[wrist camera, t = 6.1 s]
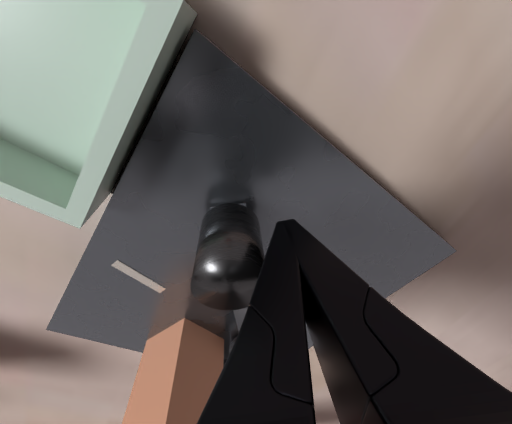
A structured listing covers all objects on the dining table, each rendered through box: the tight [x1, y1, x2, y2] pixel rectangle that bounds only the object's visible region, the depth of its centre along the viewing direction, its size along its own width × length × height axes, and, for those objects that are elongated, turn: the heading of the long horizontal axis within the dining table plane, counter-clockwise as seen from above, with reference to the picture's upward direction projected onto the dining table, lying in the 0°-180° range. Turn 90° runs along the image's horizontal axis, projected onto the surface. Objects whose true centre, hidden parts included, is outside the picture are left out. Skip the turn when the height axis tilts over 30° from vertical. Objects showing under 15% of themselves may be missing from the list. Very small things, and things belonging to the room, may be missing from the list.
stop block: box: [122, 318, 224, 424], centre depth 14 cm, size 4×4×5 cm
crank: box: [190, 203, 265, 354], centre depth 12 cm, size 14×4×4 cm, turn 5°
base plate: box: [46, 29, 456, 367], centre depth 14 cm, size 16×18×1 cm
